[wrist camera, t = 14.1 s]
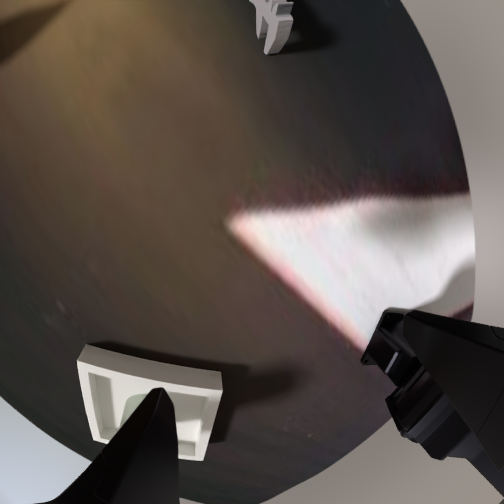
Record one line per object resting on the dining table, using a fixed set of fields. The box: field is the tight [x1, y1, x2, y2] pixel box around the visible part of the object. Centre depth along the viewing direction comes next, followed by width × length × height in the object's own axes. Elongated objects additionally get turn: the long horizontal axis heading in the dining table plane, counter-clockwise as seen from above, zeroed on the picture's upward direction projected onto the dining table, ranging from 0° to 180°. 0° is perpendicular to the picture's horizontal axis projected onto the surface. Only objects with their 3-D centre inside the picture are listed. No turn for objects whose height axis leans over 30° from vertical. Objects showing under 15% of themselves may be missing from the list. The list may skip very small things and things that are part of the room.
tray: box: [77, 344, 223, 461], centre depth 23 cm, size 13×13×3 cm
